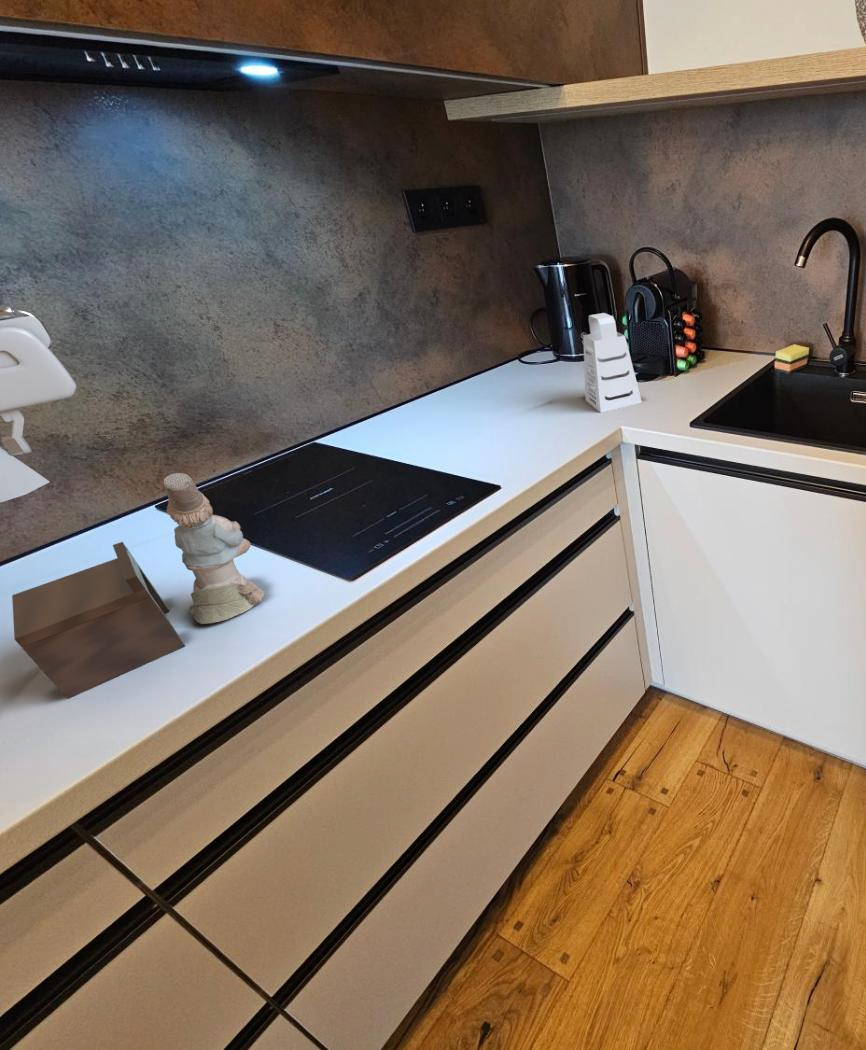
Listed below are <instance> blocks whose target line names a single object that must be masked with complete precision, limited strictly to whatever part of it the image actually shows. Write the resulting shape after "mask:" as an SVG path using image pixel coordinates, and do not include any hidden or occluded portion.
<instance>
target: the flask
mask: <svg viewBox="0 0 866 1050" xmlns="http://www.w3.org/2000/svg"><path fill="white" fill-rule="evenodd" d="M49 483H50V481H49V480H48V479H47V478H45V477H44V476H43V475H41V474H40V473H38V472H37V471H36V470H34V469H33V468H31V467H30V466H28V465H27V464H25V463H23V462H22V461H21V460H19V459H18V458H16V456H12V455H11V454H10V453H9V451H8V450H5V449H4V448H2V447H1V446H0V504H1V503H3V502H7V501H10V500H13V499H16V498H19V497H22V496H26V495H27V494H29V493H31V492H34V491H35V490H38V489H39V488H41V487H43V486H45V485H47V484H49Z"/></svg>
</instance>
